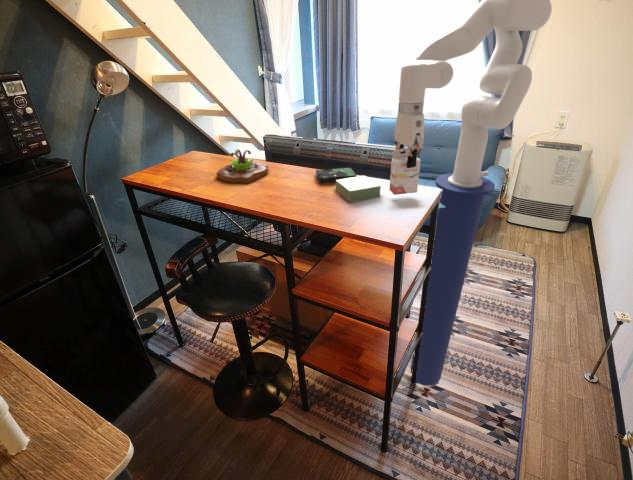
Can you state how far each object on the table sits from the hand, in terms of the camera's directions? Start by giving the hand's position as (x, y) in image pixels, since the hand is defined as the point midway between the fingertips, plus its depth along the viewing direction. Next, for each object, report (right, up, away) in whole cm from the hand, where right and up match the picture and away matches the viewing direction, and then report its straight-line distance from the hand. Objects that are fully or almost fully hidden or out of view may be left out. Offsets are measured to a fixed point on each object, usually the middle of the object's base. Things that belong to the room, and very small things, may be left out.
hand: (405, 163), depth 115 cm
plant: (-61, +2, +31) cm, 69 cm away
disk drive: (-22, -1, +24) cm, 33 cm away
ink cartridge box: (0, -9, +5) cm, 10 cm away
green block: (-15, -8, +10) cm, 20 cm away
